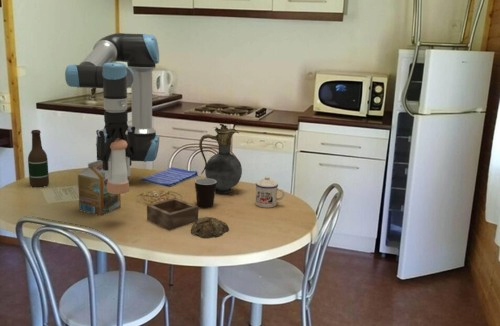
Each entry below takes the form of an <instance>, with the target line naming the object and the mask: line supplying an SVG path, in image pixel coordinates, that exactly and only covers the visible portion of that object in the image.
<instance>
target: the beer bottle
mask: <svg viewBox="0 0 500 326" xmlns="http://www.w3.org/2000/svg"><path fill="white" fill-rule="evenodd" d="M41 133H42V131H41V130H40V129H32V130H31V132H30V134H31V150H30V152H29V154H28V157H27V164H28V166H27V167H28V178H29V186H30V187H31V186H32V187H31V188H34V187H42V188H45V187H44V186H46V187H48V186H49V183H50V179H49V178H50V177H49V162H48V155H47V153H46V151H45V150H44V148H43V146H42V138H41Z"/></svg>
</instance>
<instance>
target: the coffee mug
mask: <svg viewBox="0 0 500 326" xmlns="http://www.w3.org/2000/svg"><path fill="white" fill-rule="evenodd" d="M216 183H217V181H216V180H214V179H209V178H206V177H205V178H204V177H202V178H201V177H200V178H198V179H195V180H194V189H195V196H196V198H195V199H196V200H195V201H196V206H198V208H199V209H200V208H201V209H210V208H213V207H214V203H215V196H216V192H215V190H216Z"/></svg>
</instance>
